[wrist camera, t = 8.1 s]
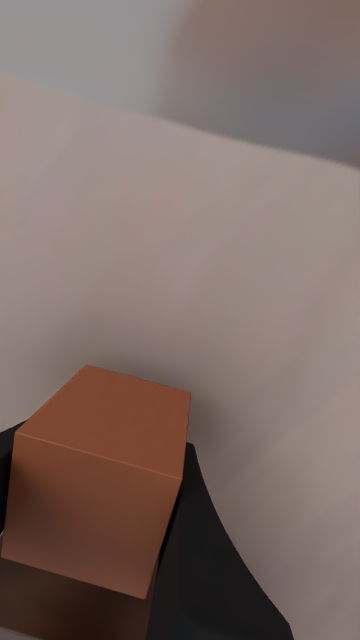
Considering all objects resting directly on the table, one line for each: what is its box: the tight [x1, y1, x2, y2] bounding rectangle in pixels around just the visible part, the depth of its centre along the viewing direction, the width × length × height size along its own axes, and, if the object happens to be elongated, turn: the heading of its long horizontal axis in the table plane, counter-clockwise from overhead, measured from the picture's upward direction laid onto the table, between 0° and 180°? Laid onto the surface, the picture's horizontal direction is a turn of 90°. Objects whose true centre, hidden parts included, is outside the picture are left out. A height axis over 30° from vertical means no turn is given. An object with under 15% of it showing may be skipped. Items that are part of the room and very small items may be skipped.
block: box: [1, 365, 191, 599], centre depth 11 cm, size 5×5×5 cm
